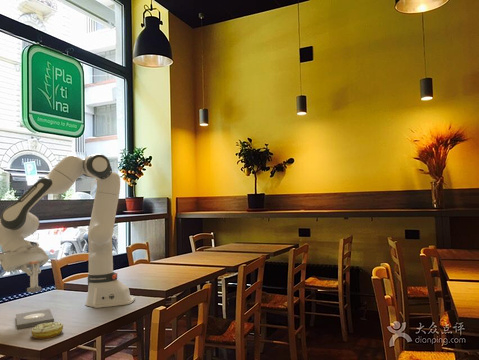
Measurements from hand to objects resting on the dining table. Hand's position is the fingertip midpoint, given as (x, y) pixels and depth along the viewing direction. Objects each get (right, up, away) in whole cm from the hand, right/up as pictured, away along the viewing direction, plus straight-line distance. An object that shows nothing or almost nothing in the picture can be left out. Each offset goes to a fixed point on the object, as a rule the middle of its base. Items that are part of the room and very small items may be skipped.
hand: (35, 273), depth 162 cm
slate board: (0, -19, -1) cm, 19 cm away
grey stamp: (0, -7, 0) cm, 7 cm away
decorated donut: (+15, -18, -19) cm, 30 cm away
